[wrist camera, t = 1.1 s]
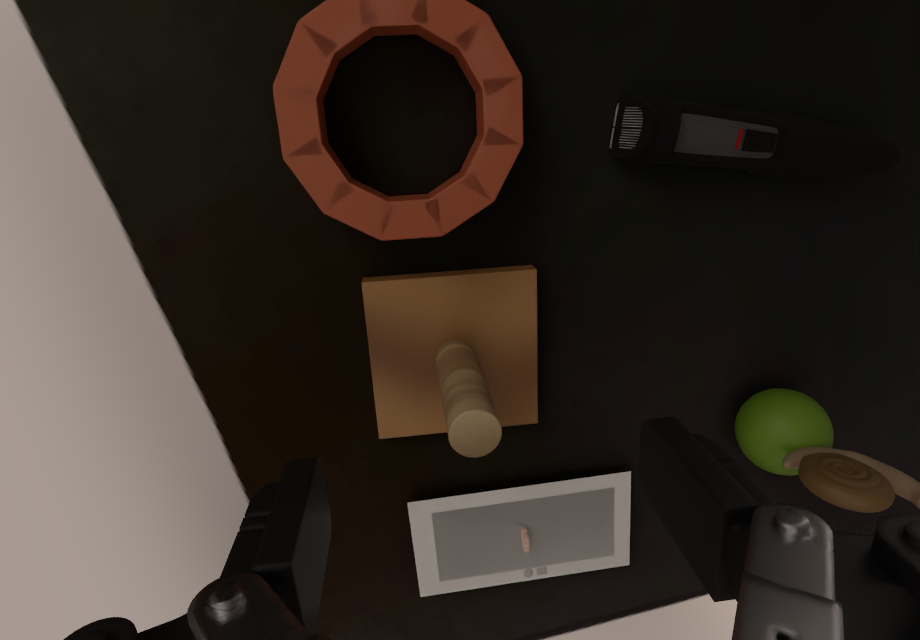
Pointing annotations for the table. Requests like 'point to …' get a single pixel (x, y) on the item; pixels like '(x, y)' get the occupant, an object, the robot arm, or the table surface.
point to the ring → (304, 126)
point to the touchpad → (521, 533)
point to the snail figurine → (815, 453)
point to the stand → (454, 353)
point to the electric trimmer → (744, 140)
